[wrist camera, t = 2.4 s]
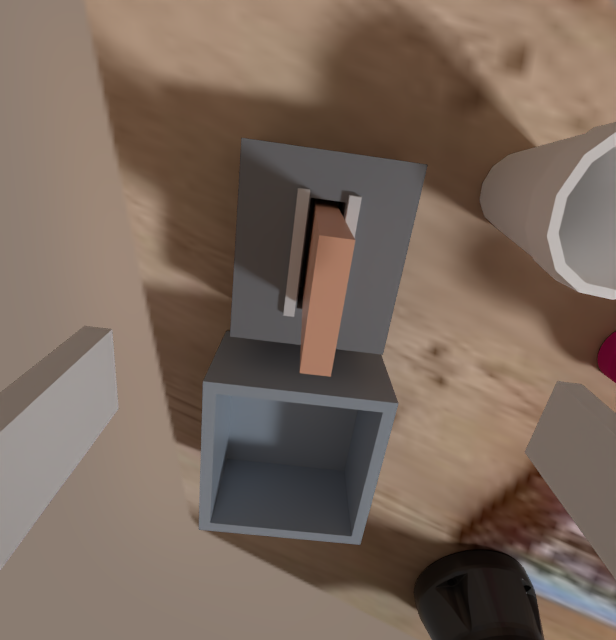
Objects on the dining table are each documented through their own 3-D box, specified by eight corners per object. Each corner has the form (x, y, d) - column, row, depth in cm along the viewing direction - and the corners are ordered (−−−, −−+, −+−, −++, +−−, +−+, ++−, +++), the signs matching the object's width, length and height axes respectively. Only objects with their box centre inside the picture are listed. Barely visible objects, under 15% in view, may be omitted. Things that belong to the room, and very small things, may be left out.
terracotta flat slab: (321, 284, 33) (330, 376, 20) (303, 281, 33) (299, 373, 20) (334, 200, 31) (355, 240, 17) (314, 198, 31) (319, 235, 17)
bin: (350, 471, 44) (360, 544, 36) (219, 458, 44) (198, 529, 35) (379, 349, 38) (398, 403, 30) (226, 330, 37) (202, 381, 29)
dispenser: (369, 319, 37) (383, 357, 30) (243, 303, 36) (228, 339, 29) (403, 162, 31) (429, 164, 25) (255, 140, 31) (240, 137, 24)
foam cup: (600, 182, 32) (772, 200, 20) (512, 268, 35) (617, 328, 23) (524, 101, 30) (669, 68, 18) (437, 200, 33) (511, 228, 21)
